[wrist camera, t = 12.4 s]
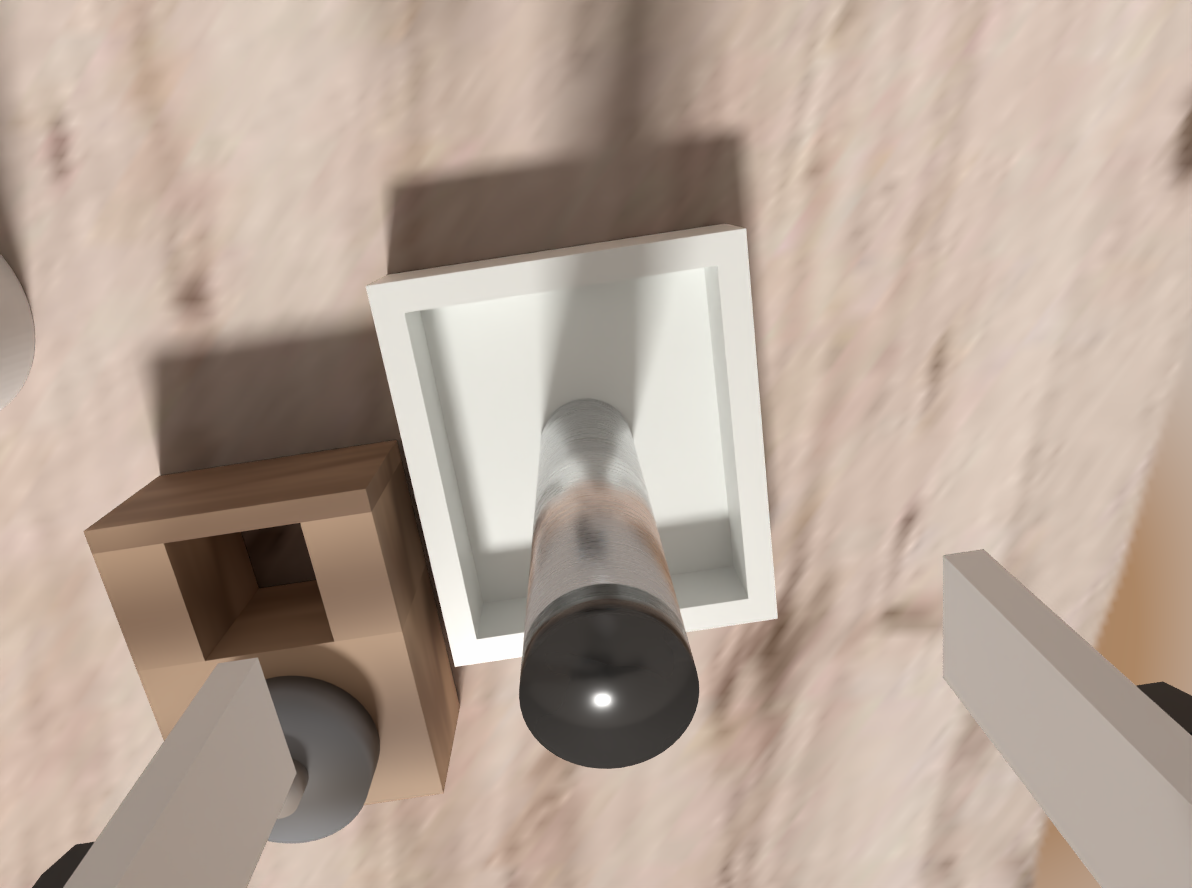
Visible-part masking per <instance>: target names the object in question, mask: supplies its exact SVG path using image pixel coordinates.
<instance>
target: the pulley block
mask: <svg viewBox="0 0 1192 888" xmlns="http://www.w3.org/2000/svg"><path fill="white" fill-rule="evenodd" d="M295 523H300V524H301V528H302V531H303V534H304V538H305V541H306V545H307V548H308V552H309V555H310V559H311V562H312V566H313V569H314V573H315V576H316V580H313V581H306V582H299V583H293V584H286V585H279V586H273V587H266V588H260V589H259V588H258V585H257V582H256V578H255V575H254V572H253V569H252V566H251V563H250V559H249V556H248V553H247V550H246V547H245V543H244V540H243V537H242V534H241V532H242V531H249V530H255V529H262V528H269V527H275V526H282V525H289V524H295ZM84 534H85V537H86V539H87V542H88V544H89V547H90V550H91V552H92V555H93V557H94V560H95V563H96V565H97V568H98V570H99V573H100V576H101V578H102V581H103V583H104V586H105V589H106V591H107V594H108V596H109V599H110V602H111V604H112V607H113V609H114V612H115V615H116V617H117V620H118V622H119V625H120V628H121V630H122V633H123V635H124V638H125V641H126V643H127V646H128V648H129V651H130V654H131V656H132V659H133V661H134V664H135V667H136V669H137V672H138V674H139V677H140V680H141V682H142V685H143V687H144V690H145V693H146V695H147V698H148V700H149V703H150V706H151V708H152V711H153V713H154V716H155V719H156V721H157V724H158V726H159V729H160V732H161V734H162V737H163V739H164V741H165V739H166V738H167V737H168V735H169V734H170V732H171V731H172V729H173V728H174V726H175V725H176V724H177V722H178V721H179V719H180V718H181V716H182V715H183V713H184V712H185V710H186V709H187V708H188V706H189V705H190V703H191V702H192V700H193V699H194V697H195V696H196V695H197V693H198V692H199V690H200V689H201V687H202V686H203V684H204V683H205V682H206V680H207V679H208V677H209V676H210V674H211V673H212V671H213V670H214V668H215V667H216V666H217V664H218V663H224V662H230V661H237V660H244V659H251V658H257V657H258V659H259V662H260V665H261V668H262V671H263V674H264V677H265V680H266V683H267V686H268V689H269V692H270V695H271V698H272V701H273V704H274V707H275V710H276V713H277V716H278V719H279V722H280V725H281V728H282V731H283V734H284V737H285V740H286V743H287V746H288V749H289V752H290V755H291V758H292V761H293V764H294V767H295V770H296V776H295V778H294V780H293V782H292V785H291V787H290V789H289V792H288V794H287V796H286V799H285V801H284V803H283V805H282V808H281V810H280V812H279V815H278V817H277V819H276V822H275V824H274V826H273V828H272V831H271V833H270V835H269V838H268V840H267V841H271V842H278V843H304V842H310V841H315V840H318V839H321V838H325V837H327V836H329V835H332V834H334V833H336V832H337V831H339V830H341V829H342V828H344V827H345V826H346V825H347V824H349V823H350V822H351V821H352V820H353V819H354V818H355V817H356V816H357V815H358V813H359V812H360V810H361V809H362V807H363V805H369V804H376V803H382V802H389V801H396V800H403V799H409V798H416V797H423V796H429V795H436V794H443V793H444V787H445V782H446V777H447V772H448V766H449V761H450V756H451V751H452V746H453V740H454V735H455V730H456V725H457V719H458V714H459V709H460V705H459V701H458V697H457V692H456V688H455V684H454V680H453V675H452V671H451V667H450V663H449V659H448V654H447V650H446V646H445V642H444V637H443V633H442V629H441V625H440V621H439V616H438V612H437V608H436V604H435V599H434V595H433V591H432V587H431V582H430V578H429V574H428V570H427V566H426V561H425V557H424V553H423V549H422V544H421V540H420V536H419V532H418V527H417V523H416V519H415V515H414V511H413V506H412V502H411V498H410V494H409V489H408V485H407V481H406V477H405V472H404V468H403V464H402V460H401V456H400V451H399V447H398V443H397V440H393V441H386V442H379V443H373V444H366V445H360V446H353V447H346V448H340V449H333V450H326V451H320V452H313V453H307V454H300V455H293V456H287V457H280V458H273V459H267V460H260V461H254V462H247V463H240V464H234V465H227V466H220V467H214V468H207V469H201V470H194V471H187V472H181V473H174V474H167V475H161V476H159V477H157V478H156V479H154V480H153V481H152V482H150V483H149V484H148V485H146V486H145V487H144V488H142V489H141V490H139V491H138V492H137V493H135V494H134V495H133V496H131V497H130V498H128V499H127V500H126V501H124V502H123V503H122V504H120V505H119V506H117V507H116V508H115V509H113V510H112V511H111V512H109V513H108V514H107V515H105V516H104V517H102V518H101V519H100V520H98V521H97V522H96V523H94V524H93V525H91V526H90V527H89V528H87V529H86V530H85V531H84Z"/></svg>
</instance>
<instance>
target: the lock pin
mask: <svg viewBox="0 0 1192 888" xmlns="http://www.w3.org/2000/svg"><path fill="white" fill-rule="evenodd" d="M698 697H699V681H698V676H697V671H696V667H695V664H694V660H693V656H692V653H691V649H690V645H689V642H688V638H687V634H686V631H685V627H684V623H683V620H682V616H681V612H680V609H679V605H678V602H677V598H676V594H675V591H674V587H673V583H672V580H671V576H670V572H669V569H668V565H667V561H666V558H665V554H664V550H663V547H662V543H661V540H660V536H659V532H658V529H657V525H656V521H655V518H654V514H653V510H652V507H651V503H650V499H649V496H648V492H647V488H646V485H645V481H644V478H643V474H642V470H641V467H640V463H639V459H638V456H637V452H636V448H635V445H634V441H633V437H632V434H631V430H630V427H629V425H628V423H627V421H626V419H625V418H624V416H623V415H622V414H621V413H620V412H619V411H618V410H617V409H616V408H614V407H613V406H611V405H610V404H608V403H605V402H603V401H600V400H596V399H578V400H573V401H571V402H568V403H566V404H564V405H562V406H561V407H559V408H558V409H556V410H555V411H554V412H553V413H552V414H551V416H550V417H549V418H548V420H547V421H546V423H545V425H544V427H543V430H542V434H541V441H540V453H539V465H538V477H537V488H536V500H535V512H534V524H533V535H532V547H531V559H530V571H529V582H528V594H527V606H526V618H525V629H524V641H523V653H522V664H521V676H520V688H519V700H520V708H521V711H522V715H523V718H524V720H525V722H526V724H527V727H528V728H529V730H530V731H531V733H532V734H533V736H534V737H535V738H536V739H537V740H538V741H539V743H541V744H542V745H543V746H544V747H545V748H546V749H547V750H549V751H550V752H552V753H553V754H555V755H556V756H558V757H560V758H562V759H564V760H566V761H569V762H571V763H574V764H577V765H581V766H585V767H591V768H604V769H611V768H622V767H627V766H632V765H635V764H638V763H641V762H644V761H646V760H649V759H651V758H653V757H655V756H657V755H658V754H660V753H662V752H663V751H665V750H666V749H667V748H669V747H670V746H671V745H673V744H674V743H675V742H676V741H677V740H678V739H679V738H680V737H681V735H682V734H683V733H684V732H685V730H686V729H687V727H688V726H689V724H690V722H691V721H692V718H693V716H694V714H695V711H696V707H697V704H698Z"/></svg>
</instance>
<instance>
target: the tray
mask: <svg viewBox="0 0 1192 888" xmlns="http://www.w3.org/2000/svg"><path fill="white" fill-rule="evenodd" d="M366 290H367V294H368V298H369V302H370V307H371V311H372V315H373V320H374V324H375V328H376V332H377V337H378V341H379V345H380V349H381V354H382V358H383V362H384V366H385V371H386V375H387V379H388V384H389V388H390V392H391V396H392V401H393V405H394V409H395V413H396V418H397V422H398V426H399V430H400V435H401V439H402V443H403V448H404V452H405V456H406V460H407V465H408V469H409V473H410V477H411V482H412V486H413V490H414V494H415V499H416V503H417V507H418V512H419V516H420V520H421V524H422V529H423V533H424V537H425V541H426V546H427V550H428V554H429V558H430V563H431V567H432V571H433V575H434V580H435V584H436V588H437V593H438V597H439V601H440V605H441V610H442V614H443V618H444V622H445V627H446V631H447V635H448V639H449V644H450V648H451V652H452V657H453V661H454V665H455V667H457V666H464V665H471V664H477V663H484V662H491V661H497V660H504V659H511V658H517V657H522V653H523V641H524V629H525V618H526V606H527V594H528V582H529V571H530V559H531V547H532V535H533V524H534V512H535V500H536V488H537V477H538V465H539V453H540V441H541V434H542V430H543V427H544V425H545V423H546V421H547V420H548V418H549V417H550V416H551V414H552V413H553V412H554V411H555V410H556V409H558V408H559V407H561V406H562V405H564V404H566V403H568V402H571V401H573V400H578V399H596V400H600V401H603V402H605V403H608V404H610V405H611V406H613V407H614V408H616V409H617V410H618V411H619V412H620V413H621V414H622V415H623V416H624V418H625V419H626V421H627V423H628V425H629V427H630V430H631V434H632V437H633V441H634V445H635V448H636V452H637V456H638V459H639V463H640V467H641V470H642V474H643V478H644V481H645V485H646V488H647V492H648V496H649V499H650V503H651V507H652V510H653V514H654V518H655V521H656V525H657V529H658V532H659V536H660V540H661V543H662V547H663V550H664V554H665V558H666V561H667V565H668V569H669V572H670V576H671V580H672V583H673V587H674V591H675V594H676V598H677V602H678V605H679V609H680V612H681V616H682V620H683V623H684V627H685V631H686V632H691V631H698V630H704V629H711V628H718V627H724V626H731V625H738V624H744V623H751V622H758V621H765V620H771V619H778V617H777V605H776V593H775V580H774V568H773V555H772V543H771V531H770V518H769V506H768V494H767V481H766V469H765V456H764V444H763V432H762V419H761V407H760V394H759V382H758V370H757V357H756V345H755V332H754V320H753V308H752V295H751V283H750V271H749V258H748V246H747V233H746V228H743V227H738V226H734V225H730V224H726V223H725V224H718V225H712V226H705V227H699V228H692V229H685V230H679V231H672V232H666V233H659V234H653V235H646V236H639V237H633V238H626V239H620V240H613V241H606V242H600V243H593V244H587V245H580V246H573V247H567V248H560V249H554V250H547V251H540V252H534V253H527V254H521V255H514V256H508V257H501V258H494V259H488V260H481V261H475V262H468V263H461V264H455V265H448V266H442V267H435V268H428V269H422V270H415V271H409V272H402V273H395V274H389V275H386V276H384V277H382V278H380V279H378V280H376V281H374V282H372V283H370V284H369V285H367V286H366Z"/></svg>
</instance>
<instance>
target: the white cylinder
mask: <svg viewBox="0 0 1192 888" xmlns="http://www.w3.org/2000/svg"><path fill="white" fill-rule="evenodd" d="M34 350H35V330H34V323H33V318H32V313H31V309H30V306H29V303H28V300H27V297H26V295H25V293H24V290H23V288H22V286H21V284H20V282H19V280H18V279H17V277H16V275H15V274H14V272H13V270H12V269H11V267H10V266H9V265H8V263H7V262H6V260H5V259H4V258H3V257H2V255H1V254H0V411H1V410H2V409H3V408H4V407H6V406H7V405H8V404H9V403H10V402H11V401H12V400H13V399H14V398H15V397H16V395H17V394H18V393H19V391H20V390H21V388H22V387H23V385H24V383H25V381H26V379H27V377H28V375H29V372H30V369H31V366H32V362H33V358H34Z"/></svg>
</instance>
